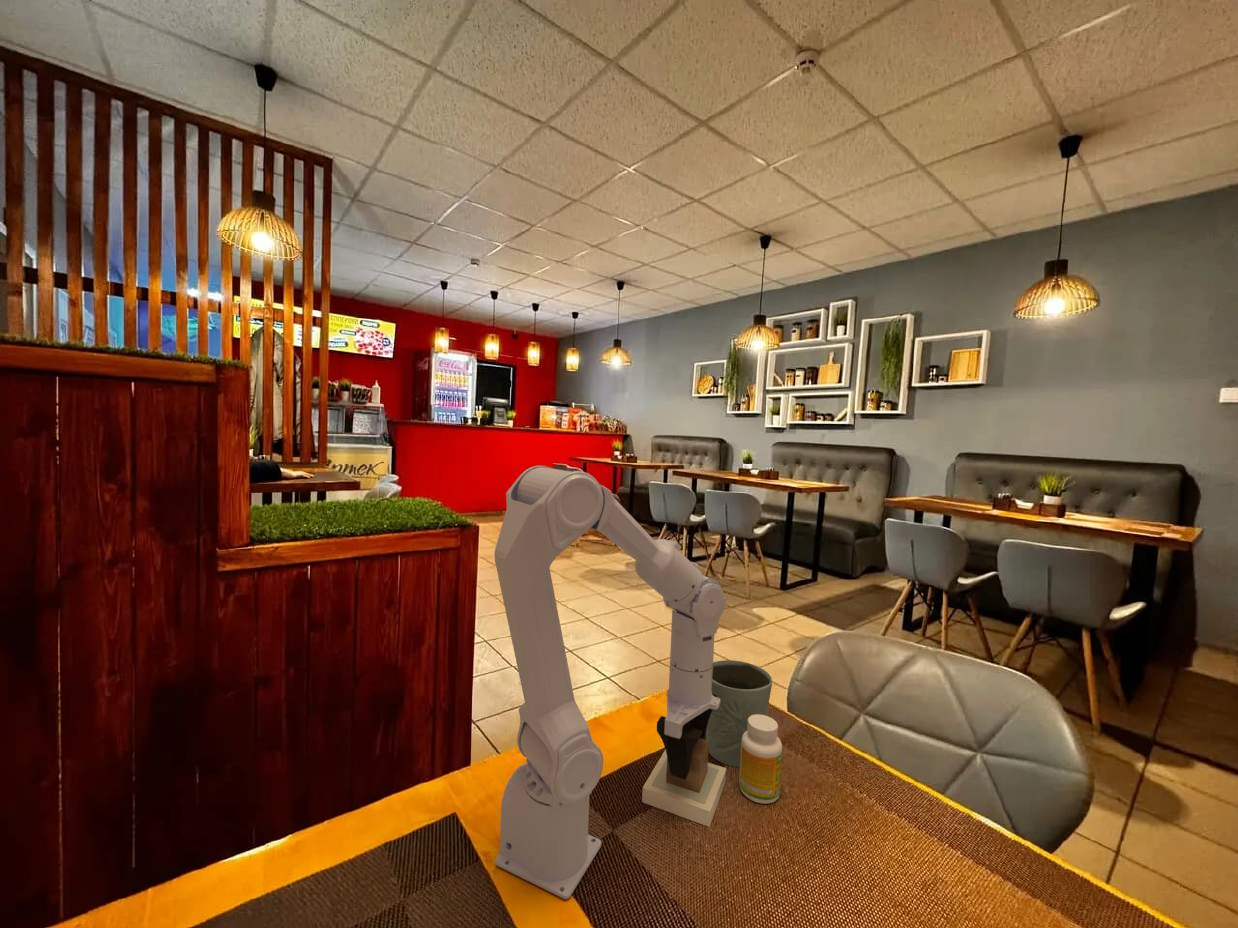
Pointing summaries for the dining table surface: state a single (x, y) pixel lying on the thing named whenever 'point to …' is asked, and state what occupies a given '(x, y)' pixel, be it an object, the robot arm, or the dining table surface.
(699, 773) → the walnut block
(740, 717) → the green plant pot
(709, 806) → the tile base
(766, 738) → the supplement bottle
